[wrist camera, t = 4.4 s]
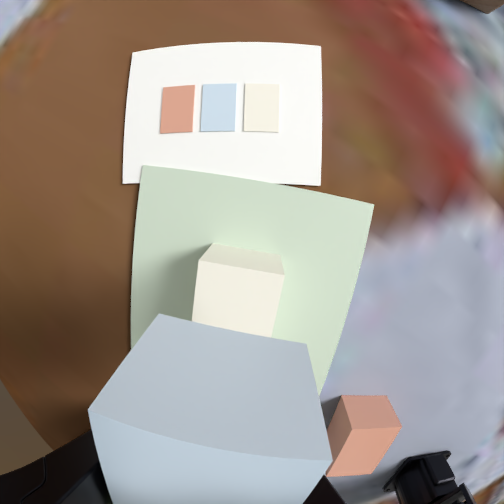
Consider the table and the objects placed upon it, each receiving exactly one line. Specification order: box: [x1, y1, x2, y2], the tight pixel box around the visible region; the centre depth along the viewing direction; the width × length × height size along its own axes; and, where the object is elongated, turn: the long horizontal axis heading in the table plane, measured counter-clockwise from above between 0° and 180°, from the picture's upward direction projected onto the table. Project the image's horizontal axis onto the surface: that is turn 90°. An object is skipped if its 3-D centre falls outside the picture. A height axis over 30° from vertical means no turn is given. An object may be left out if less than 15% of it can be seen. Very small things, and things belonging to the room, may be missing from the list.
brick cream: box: [192, 243, 285, 338], centre depth 16 cm, size 6×4×4 cm, turn 170°
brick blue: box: [88, 313, 333, 504], centre depth 6 cm, size 6×4×4 cm, turn 169°
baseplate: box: [131, 165, 374, 395], centre depth 19 cm, size 14×14×1 cm
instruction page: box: [123, 42, 322, 186], centre depth 16 cm, size 9×12×1 cm
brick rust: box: [326, 395, 402, 477], centre depth 19 cm, size 6×4×4 cm, turn 172°
